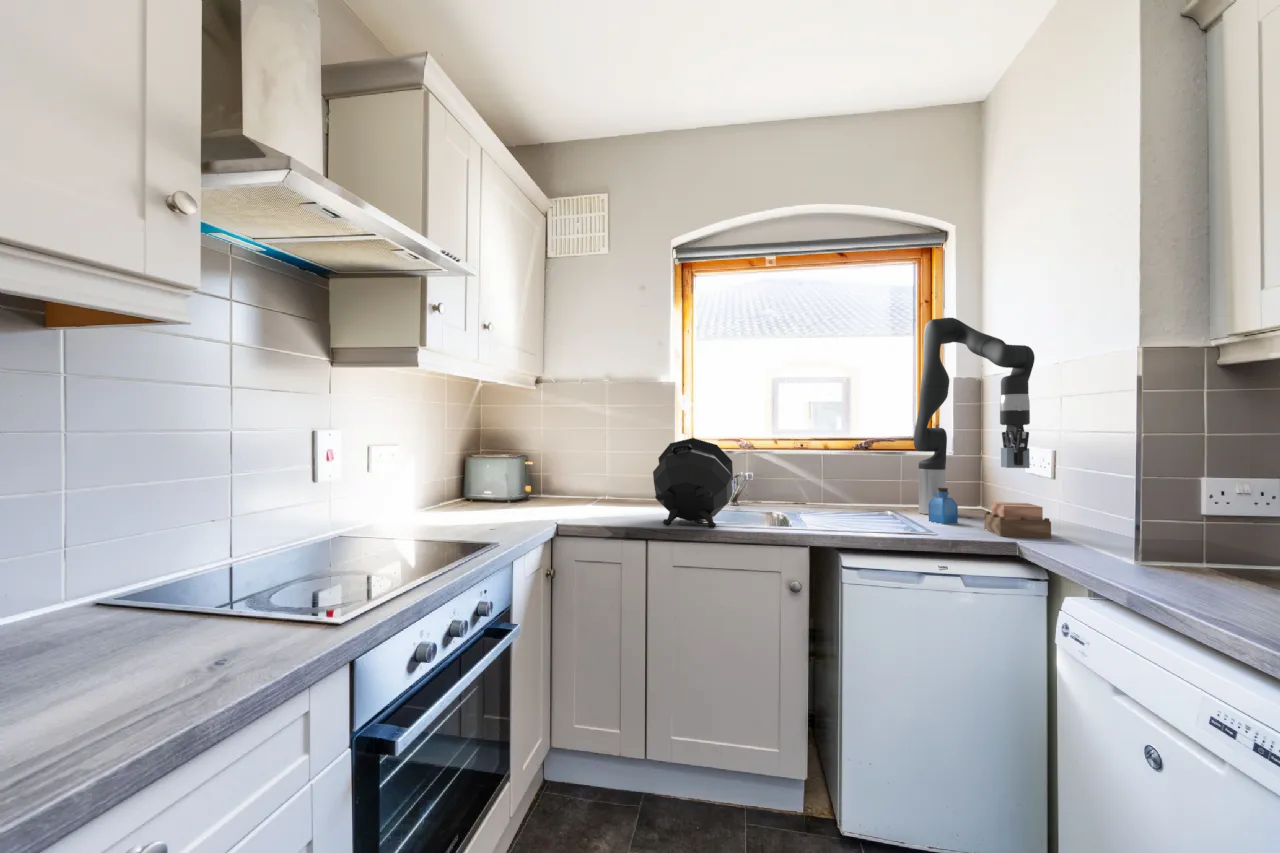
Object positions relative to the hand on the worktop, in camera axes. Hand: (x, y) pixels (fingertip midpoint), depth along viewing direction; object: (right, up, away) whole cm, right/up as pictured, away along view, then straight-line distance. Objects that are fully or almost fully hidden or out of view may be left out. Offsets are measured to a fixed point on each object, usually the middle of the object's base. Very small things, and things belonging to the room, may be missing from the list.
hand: (1015, 464), depth 164 cm
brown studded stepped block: (0, -21, 0) cm, 21 cm away
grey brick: (0, -1, 0) cm, 1 cm away
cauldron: (-98, -22, +16) cm, 101 cm away
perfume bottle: (-10, -22, +21) cm, 32 cm away
